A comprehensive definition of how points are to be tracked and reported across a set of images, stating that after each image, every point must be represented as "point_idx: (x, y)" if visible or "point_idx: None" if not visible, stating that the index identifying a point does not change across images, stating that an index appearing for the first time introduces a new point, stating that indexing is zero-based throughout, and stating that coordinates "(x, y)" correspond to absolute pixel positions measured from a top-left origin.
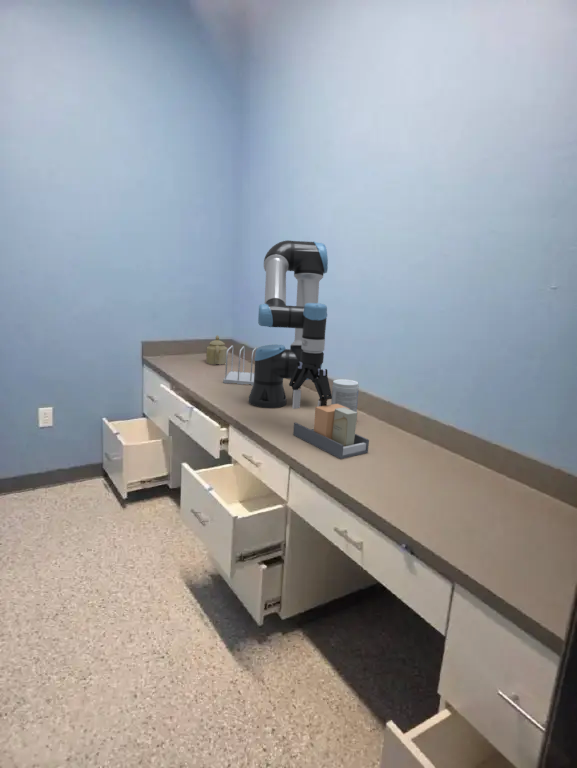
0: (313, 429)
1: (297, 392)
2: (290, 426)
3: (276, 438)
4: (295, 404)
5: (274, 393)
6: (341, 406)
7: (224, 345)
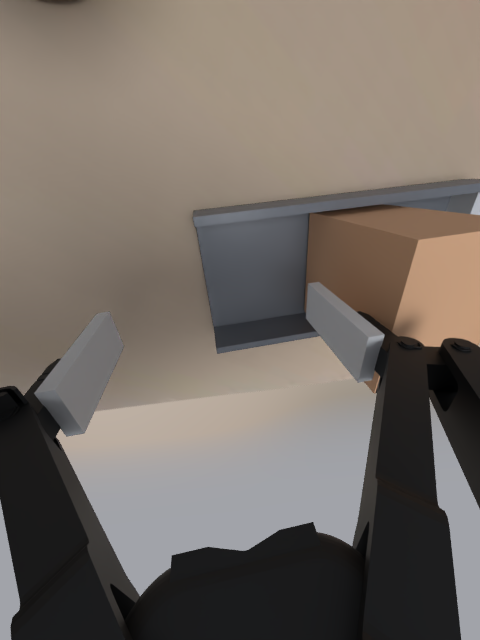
0: (205, 249)
1: (79, 399)
2: (123, 300)
3: (225, 376)
4: (114, 351)
5: None
6: (475, 253)
7: None
